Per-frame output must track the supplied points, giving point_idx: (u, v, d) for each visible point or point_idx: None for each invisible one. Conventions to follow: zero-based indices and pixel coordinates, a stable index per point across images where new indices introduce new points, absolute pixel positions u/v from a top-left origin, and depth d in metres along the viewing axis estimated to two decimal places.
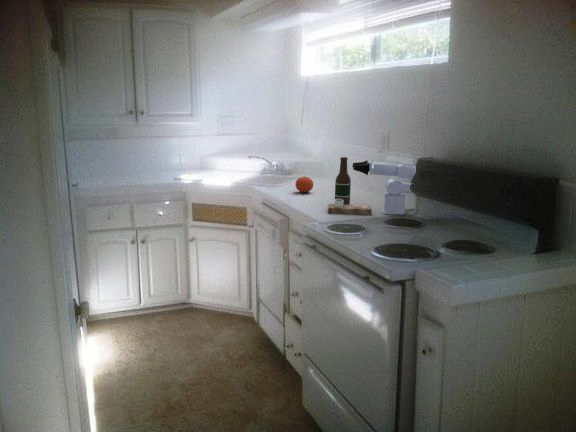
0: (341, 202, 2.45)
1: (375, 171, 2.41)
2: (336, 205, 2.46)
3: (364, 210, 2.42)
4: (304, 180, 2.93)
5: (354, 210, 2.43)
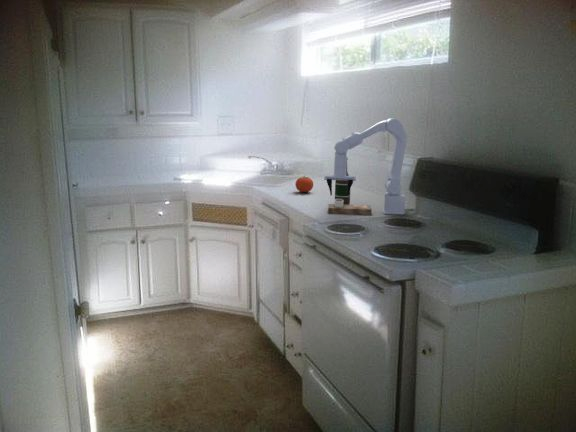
0: (341, 202, 2.45)
1: None
2: (336, 205, 2.46)
3: (364, 210, 2.42)
4: (304, 180, 2.93)
5: (354, 210, 2.43)
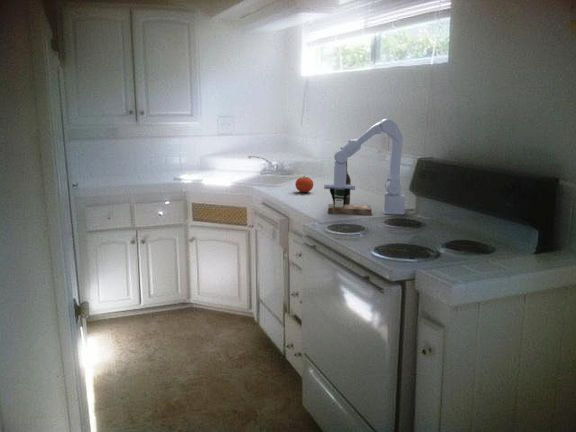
0: (341, 202, 2.45)
1: None
2: (336, 205, 2.46)
3: (364, 210, 2.42)
4: (304, 180, 2.93)
5: (354, 210, 2.43)
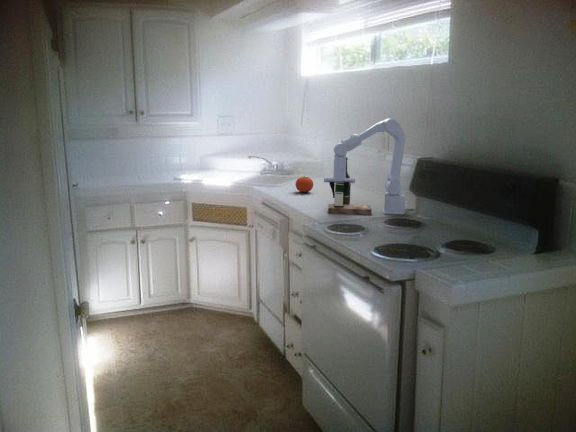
0: (341, 195, 2.45)
1: None
2: (336, 198, 2.45)
3: (364, 210, 2.42)
4: (304, 180, 2.93)
5: (354, 210, 2.43)
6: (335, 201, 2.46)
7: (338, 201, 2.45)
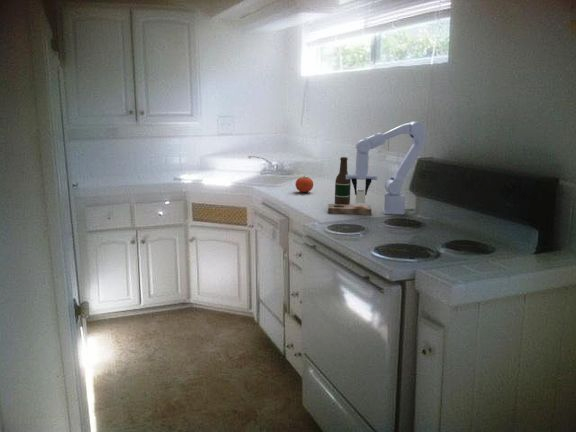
0: (363, 192, 2.44)
1: None
2: (358, 196, 2.44)
3: (364, 210, 2.42)
4: (304, 180, 2.93)
5: (354, 210, 2.43)
6: (357, 198, 2.44)
7: (360, 199, 2.44)
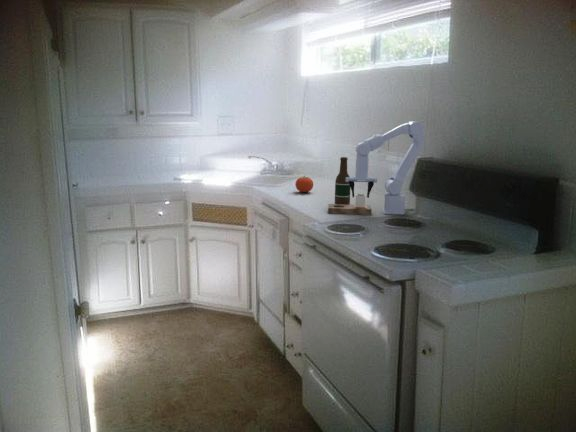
0: (363, 197, 2.44)
1: None
2: (358, 200, 2.45)
3: (364, 210, 2.42)
4: (304, 180, 2.93)
5: (354, 210, 2.43)
6: (357, 203, 2.45)
7: (360, 203, 2.45)
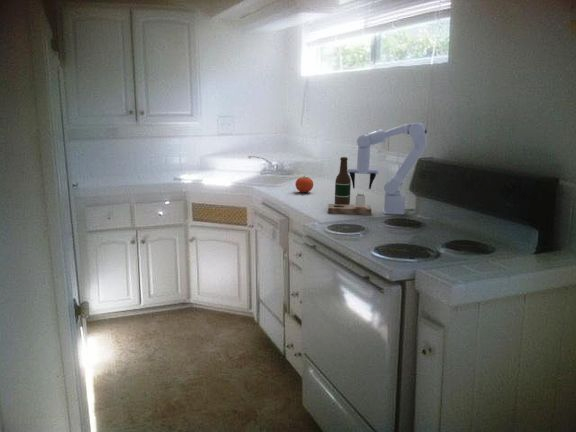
0: (363, 197, 2.44)
1: None
2: (358, 200, 2.45)
3: (364, 210, 2.42)
4: (304, 180, 2.93)
5: (354, 210, 2.43)
6: (357, 203, 2.45)
7: (360, 203, 2.45)
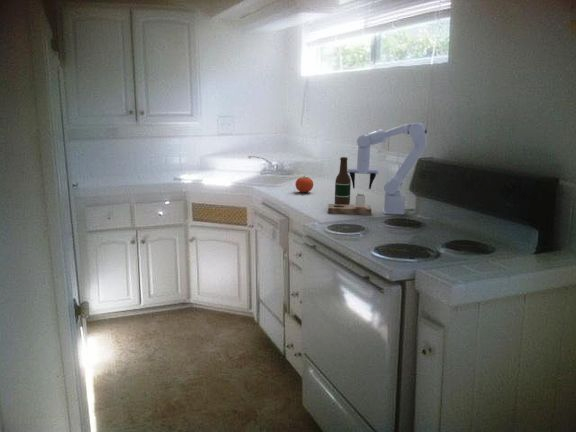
0: (363, 197, 2.44)
1: None
2: (358, 200, 2.45)
3: (364, 210, 2.42)
4: (304, 180, 2.93)
5: (354, 210, 2.43)
6: (357, 203, 2.45)
7: (360, 203, 2.45)
